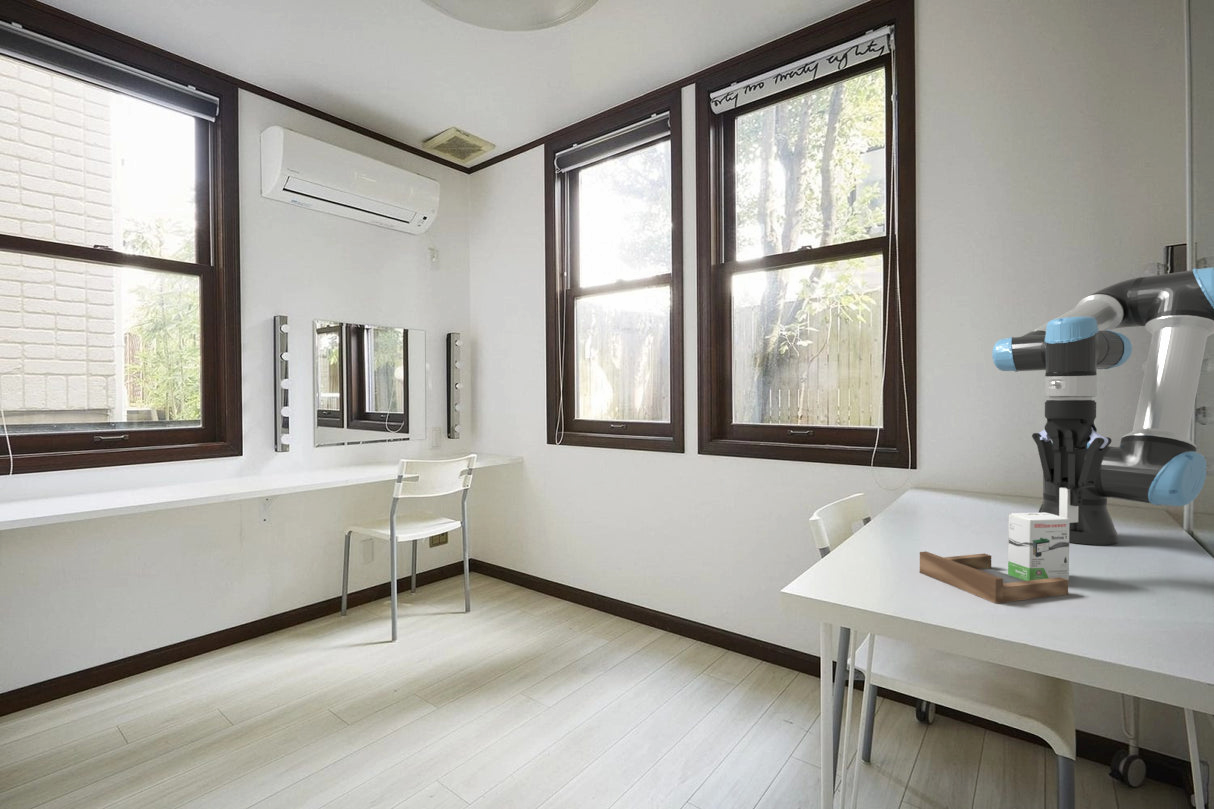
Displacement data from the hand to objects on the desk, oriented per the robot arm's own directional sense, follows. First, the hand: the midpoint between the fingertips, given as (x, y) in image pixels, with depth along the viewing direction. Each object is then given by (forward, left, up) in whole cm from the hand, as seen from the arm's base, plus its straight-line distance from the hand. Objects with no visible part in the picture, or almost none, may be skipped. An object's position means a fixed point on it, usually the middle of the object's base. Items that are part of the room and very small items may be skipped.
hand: (1068, 521), depth 105 cm
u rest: (+19, +1, -10) cm, 22 cm away
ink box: (+8, 0, -10) cm, 13 cm away
